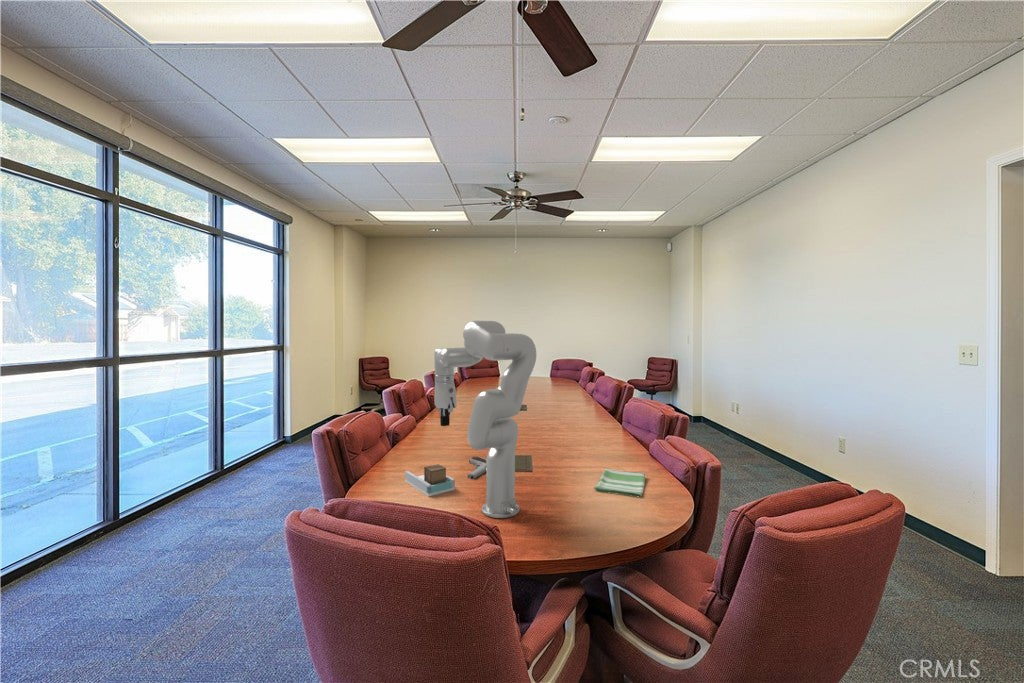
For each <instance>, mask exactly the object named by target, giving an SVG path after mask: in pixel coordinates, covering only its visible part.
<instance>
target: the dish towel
mask: <svg viewBox="0 0 1024 683" xmlns="http://www.w3.org/2000/svg"><path fill="white" fill-rule="evenodd" d="M645 484H646V473H645V472H638V471H624V470H616V469H615V470H614V469H608V468H605V469H604V471H603V472H602V473H601V475H600V479H599V481H598V483H596V485H594V486H593V489H594V490H595V492H599V493H605V492H606V493H608V492H610V493H608V494H613V493H618V494H617V495H620V494H624V495H623V496H628V495H632V496H634V497H636V496H639V497H641V498H642V496H643V493H644V489H645V488H644V487H645ZM639 497H638V498H639Z"/></svg>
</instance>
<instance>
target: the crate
mask: <svg viewBox="0 0 1024 683" xmlns="http://www.w3.org/2000/svg"><path fill="white" fill-rule="evenodd" d="M423 470H424V471H423V475H424V481H426V482H427V483H429V484H431V485H435V484H439V483H443V482H446V475H447V468H446V467H445V466H443V465H441V464H439V463H438V464H437V463H436V464H431V465H427V466H424V467H423Z"/></svg>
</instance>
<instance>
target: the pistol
mask: <svg viewBox="0 0 1024 683" xmlns="http://www.w3.org/2000/svg"><path fill="white" fill-rule="evenodd" d="M468 463H469V464H472V465H475V466H474V470H473V471H471V472H470V473H468V474H467V476H466V477H467V478H468V479H469V480H475V479H477V478H479V477H480V476H481V475H483V474H485V473H486V465H487V458H484V457H481V456H479V455H476V456H475V455H474V456H473V457H471V458H469V460H468Z"/></svg>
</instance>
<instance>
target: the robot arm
mask: <svg viewBox="0 0 1024 683" xmlns="http://www.w3.org/2000/svg"><path fill="white" fill-rule="evenodd" d="M462 337H463V345H464V347H445V348H444V347H443V348H441V347H440V348H436V349H435V350H434V354H433V355H434V357H433V358H434V395H433V396H434V401H433V402H434V406H435V407H436V409H437V411H438V413H439V416H440V427H448V426H450V416H451V413H452V412H454V409H456V408H457V405H458V404H457V403H458V402H457V390H456V386H455V370H454V369H455V368H468V367H472V366H474V365H476V364H478V363H480V362H481V361H483V359H485V360H488V361H494V362H495V361H510V360H511V363H510V364H509V365H508V366H507V367H506V368H505V370H504V372H503V373H502V376H501V379H500V384H499V385H498V387H497V388H495V389H493V388H492V389H485V390H483V391H481V392H479V393H478V394H477V396H476V397H475V399H474V402H473V406H472V410H471V413H470V414H471V415H470V418H469V421H468V422H469V423H468V425H467V426H468V427H467V431H466V432H467V433H466V434H467V435H466V436H467V442H468V444H469V446H470V447H471V448H472V449H474V450H478V451H483V450H487V449H489V450H488V453H487V456H486V459H487V465H486V472H485V473H486V475H485V476H486V477H485V478H486V480H485V481H486V488H485V490H486V491H485V492H486V494H485V496H486V499H485V500H486V502H485V503H484V504H482V507H481V512H482V514H483V515H485V516H487V517H488V518H489V517H491V518H495V519H506V518H512V517H513V516H516V515H517V514H518V513H519V512H520V509H521V507H520V506H519V505H518V503H517V499H515V498H516V497H515V496H516V495H515V494H516V493H515V489H516V488H515V486H516V477H515V476H516V447H517V442H518V437H519V426H518V424H517V421H516V420H515V419H514V418H512V417H515V416H517V415H518V414H519V413H520V411H521V408H522V405H523V402H524V398H525V395H526V391H527V387H528V382H529V380H530V377H531V375H532V373H533V371H534V368H535V365H536V362H537V348H536V347H537V346H536V344H535V342H534V341H533V339H532V338H531V337H530V336H528V335H525V334H523V333H514V332H513V333H507V332H506V329H505V327H504V325H503V324H502V323H500V322H498V321H493V320H472V321H469V322H468V323H466V325H465V327H464V329H463V332H462Z"/></svg>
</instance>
